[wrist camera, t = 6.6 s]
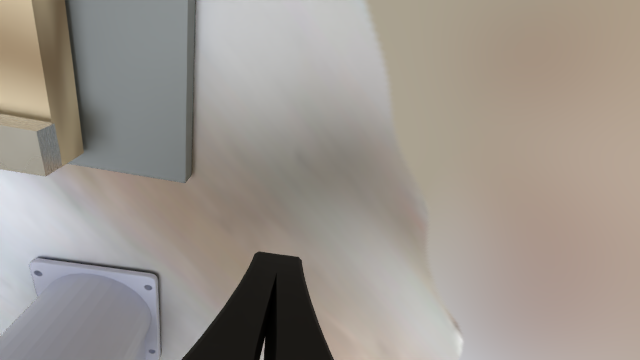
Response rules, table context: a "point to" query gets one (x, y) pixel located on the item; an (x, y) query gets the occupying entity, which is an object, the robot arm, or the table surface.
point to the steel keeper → (28, 146)
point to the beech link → (39, 69)
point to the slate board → (134, 84)
